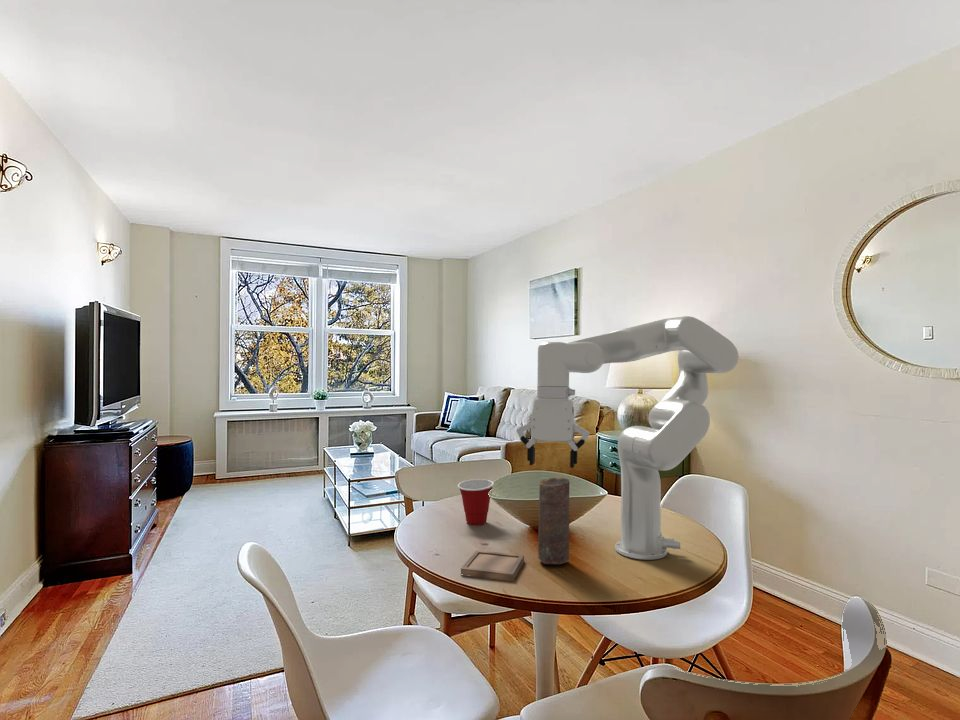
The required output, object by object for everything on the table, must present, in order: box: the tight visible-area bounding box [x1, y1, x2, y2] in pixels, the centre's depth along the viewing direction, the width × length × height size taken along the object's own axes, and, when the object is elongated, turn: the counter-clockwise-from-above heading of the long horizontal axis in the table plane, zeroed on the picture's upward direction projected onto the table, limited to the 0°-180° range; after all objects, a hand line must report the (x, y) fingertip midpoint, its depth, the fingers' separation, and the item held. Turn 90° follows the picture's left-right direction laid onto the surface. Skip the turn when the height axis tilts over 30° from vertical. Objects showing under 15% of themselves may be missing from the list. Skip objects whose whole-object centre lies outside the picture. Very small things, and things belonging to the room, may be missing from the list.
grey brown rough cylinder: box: [537, 477, 570, 565], centre depth 127 cm, size 8×7×20 cm
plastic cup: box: [457, 478, 495, 527], centre depth 159 cm, size 11×11×12 cm
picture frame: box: [460, 549, 525, 582], centre depth 124 cm, size 12×12×2 cm
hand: (552, 465), depth 127 cm, fingers open, 9 cm apart
